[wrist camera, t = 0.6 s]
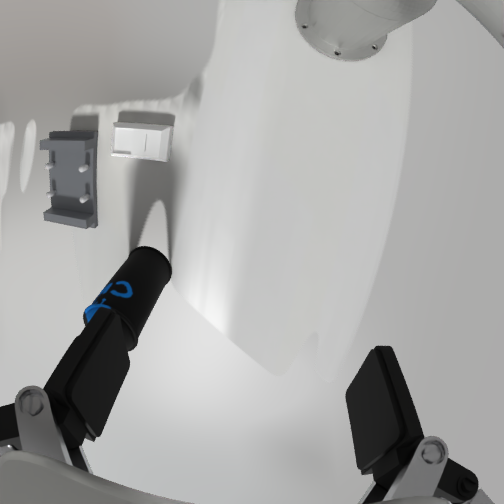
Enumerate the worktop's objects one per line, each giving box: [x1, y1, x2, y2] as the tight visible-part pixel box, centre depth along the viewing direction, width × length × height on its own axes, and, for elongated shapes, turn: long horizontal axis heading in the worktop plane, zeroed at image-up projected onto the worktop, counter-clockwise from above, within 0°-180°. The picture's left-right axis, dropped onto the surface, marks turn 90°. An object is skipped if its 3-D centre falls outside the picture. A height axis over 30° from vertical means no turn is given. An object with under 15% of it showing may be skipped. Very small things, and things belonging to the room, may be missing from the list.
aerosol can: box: [83, 246, 172, 352], centre depth 37 cm, size 8×8×20 cm
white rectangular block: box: [110, 122, 173, 162], centre depth 35 cm, size 5×9×3 cm, turn 79°
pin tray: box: [40, 131, 98, 229], centre depth 37 cm, size 16×10×4 cm, turn 170°
